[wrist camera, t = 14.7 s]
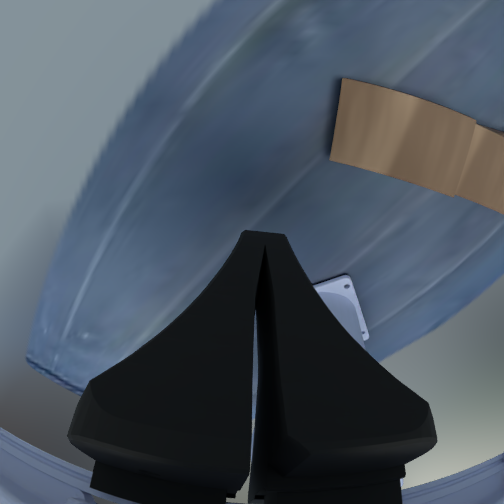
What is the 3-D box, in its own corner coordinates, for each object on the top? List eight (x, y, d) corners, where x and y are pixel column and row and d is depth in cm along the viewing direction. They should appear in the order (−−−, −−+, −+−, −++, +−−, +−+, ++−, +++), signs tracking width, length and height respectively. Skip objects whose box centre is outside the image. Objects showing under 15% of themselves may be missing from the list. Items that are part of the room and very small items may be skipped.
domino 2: (421, 102, 15) (518, 143, 13) (405, 170, 18) (497, 205, 16) (425, 104, 14) (527, 150, 12) (408, 178, 17) (504, 214, 15)
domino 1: (344, 77, 15) (468, 116, 13) (332, 153, 18) (447, 187, 16) (342, 78, 13) (476, 120, 11) (329, 160, 16) (453, 197, 15)
